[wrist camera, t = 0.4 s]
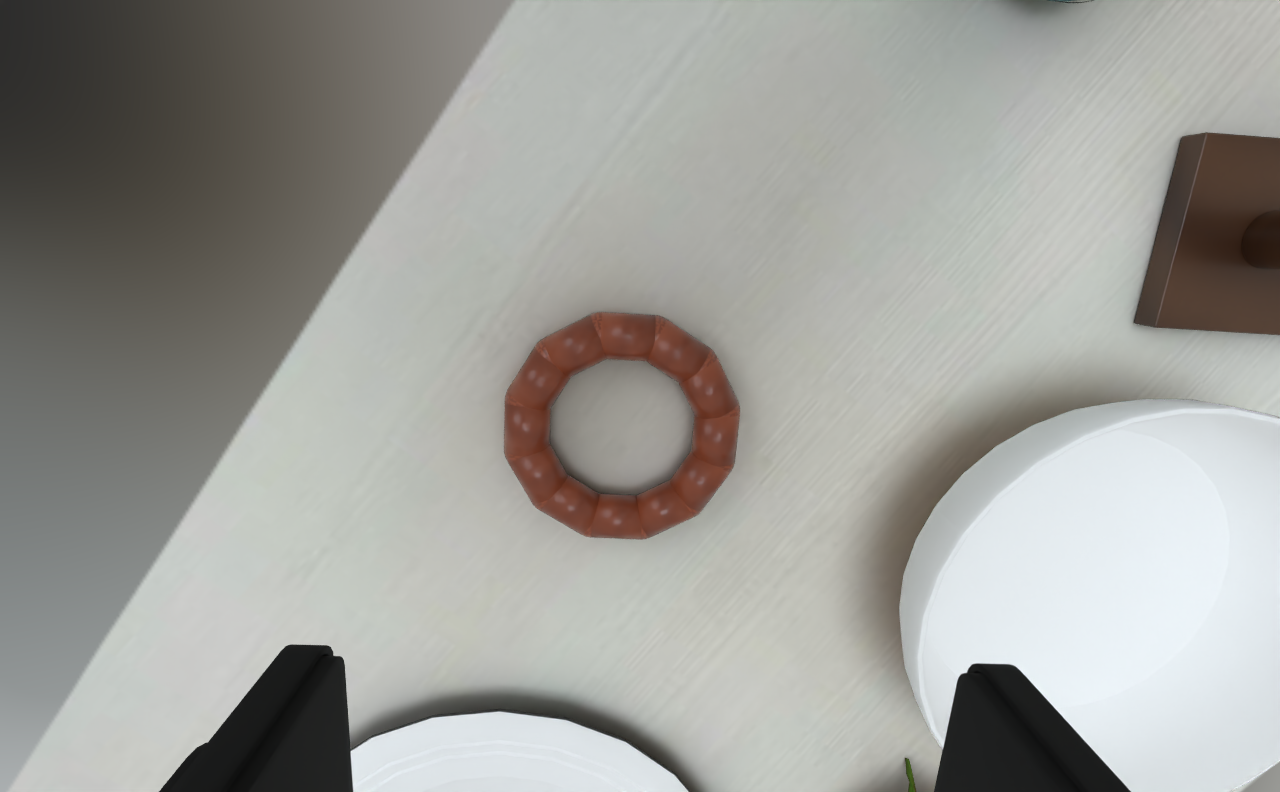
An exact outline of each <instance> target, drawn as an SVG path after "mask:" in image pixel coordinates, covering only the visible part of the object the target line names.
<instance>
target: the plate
mask: <svg viewBox="0 0 1280 792" xmlns="http://www.w3.org/2000/svg"><path fill="white" fill-rule="evenodd" d="M350 752H351V766H352V781H353V792H690V791H689V789H688V788H687V787H686V786H685V785H684V783H683V782H682V781H681V780H680V779H679V778H678V776H677V775H676V774H675V773H674V772H673V771H671V770H670V769H668V768H667V767H665V766H664V765H662V764H661V763H659V762H658V761H657V760H655V759H654V758H652V757H651V756H649V755H648V754H646V753H645V752H643V751H642V750H640V749H639V748H637V747H636V746H634V745H633V744H631V743H630V742H629V741H627V740H626V739H623V738H620V737H617V736H615V735H612V734H609V733H607V732H604V731H601V730H598V729H596V728H593V727H590V726H588V725H585V724H582V723H579V722H577V721H574V720H571V719H569V718H565V717H558V716H550V715H542V714H534V713H526V712H519V711H511V710H503V709H496V710H485V711H475V712H464V713H453V714H442V715H433V716H430V717H427V718H424V719H421V720H418V721H415V722H412V723H409V724H406V725H403V726H400V727H397V728H394V729H391V730H388V731H385V732H382V733H379V734H376V735H373V736H371V737H370V738H368V739H367V740H365V741H363V742H362V743H360V744H359V745H357V746H356V747H354V748H353V749H351V750H350Z"/></svg>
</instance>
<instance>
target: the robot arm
mask: <svg viewBox="0 0 1280 792" xmlns="http://www.w3.org/2000/svg"><path fill="white" fill-rule="evenodd" d="M159 792H353V781H352V766H351V752H350V737H349V722H348V708H347V693H346V678H345V665H344V660H343V658H342V657H340V656H333V651H332V649H331V647H329V646H325V645H288V646H286V647H285V648H284V649H283V650H282V651H281V652H280V653H279V654H278V656H277V657H276V658H275V659H274V661H273V662H272V663H271V664H270V666H269V667H268V668H267V669H266V671H265V672H264V673H263V674H262V676H261V677H260V678H259V679H258V681H257V682H256V683H255V684H254V686H253V687H252V688H251V689H250V691H249V692H248V693H247V694H246V696H245V697H244V698H243V699H242V701H241V702H240V703H239V704H238V706H237V707H236V708H235V709H234V711H233V712H232V713H231V714H230V716H229V717H228V718H227V719H226V721H225V722H224V723H223V724H222V726H221V727H220V728H219V729H218V731H217V732H216V733H215V734H214V736H213V737H212V738H211V739H210V741H209V742H208V743H205V744H203V745H201V746H199V747H197V748H196V749H195V750H194V751H193V752H192V753H191V754H190V755H189V756H188V757H187V758H186V759H185V761H184V762H183V763H182V764H181V766H180V767H179V768H178V769H177V770H176V772H175V773H174V774H173V775H172V777H171V778H170V779H169V780H168V781H167V783H166V784H165V785H164V786H163V788H162V789H161V790H160V791H159ZM934 792H1131V791H1130V790H1129V789H1128V788H1127V787H1126V786H1125V784H1124V783H1123V782H1122V781H1121V780H1120V779H1119V778H1118V777H1117V776H1116V775H1115V773H1114V772H1113V771H1112V770H1111V769H1110V768H1109V767H1108V766H1107V765H1106V764H1105V763H1104V761H1103V760H1102V759H1101V758H1100V757H1099V756H1098V755H1097V754H1096V753H1095V752H1094V751H1093V749H1092V748H1091V747H1090V746H1089V745H1088V744H1087V743H1086V742H1085V741H1084V740H1083V738H1082V737H1081V736H1080V735H1079V734H1078V733H1077V732H1076V731H1075V730H1074V729H1073V728H1072V726H1071V725H1070V724H1069V723H1068V722H1067V721H1066V720H1065V719H1064V718H1063V717H1062V715H1061V714H1060V713H1059V712H1058V711H1057V710H1056V709H1055V708H1054V707H1053V706H1052V705H1051V703H1050V702H1049V701H1048V700H1047V699H1046V698H1045V697H1044V696H1043V695H1042V694H1041V693H1040V691H1039V690H1038V689H1037V688H1036V687H1035V686H1034V685H1033V684H1032V683H1031V682H1030V680H1029V679H1028V678H1027V677H1026V676H1025V675H1024V674H1023V673H1022V672H1021V671H1020V670H1019V669H1018V668H1017V667H1016V666H1014V665H1010V664H984V663H975V664H972V665H971V666H970V667H969V668H968V671H967V673H963V674H961V675H960V676H959V678H958V681H957V685H956V690H955V694H954V699H953V704H952V709H951V713H950V718H949V723H948V728H947V733H946V737H945V742H944V747H943V752H942V756H941V761H940V766H939V771H938V775H937V780H936V785H935V790H934Z"/></svg>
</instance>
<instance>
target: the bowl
mask: <svg viewBox="0 0 1280 792" xmlns="http://www.w3.org/2000/svg"><path fill="white" fill-rule="evenodd" d="M899 615H900V626H901V638H902V648H903V657H904V665H905V670H906V673H907V676H908V679H909V682H910V685H911V688H912V691H913V694H914V697H915V700H916V702H917V704H918V706H919V709H920V711H921V713H922V715H923V717H924V720H925V722H926V724H927V726H928V728H929V730H930V732H931V733H932V735H933V737H934V738H935V740H936V741H937V743H938V744H939V746H940V748H941V749H942V751H943V747H944V742H945V737H946V733H947V728H948V723H949V718H950V713H951V709H952V704H953V699H954V694H955V690H956V685H957V681H958V678H959V676H960V675H961V674H963V673H967V671H968V668H969V667H970V666H971V665H972V664H975V663H984V664H1010V665H1014V666H1016V667H1017V668H1018V669H1019V670H1020V671H1021V672H1022V673H1023V674H1024V675H1025V676H1026V677H1027V678H1028V679H1029V680H1030V682H1031V683H1032V684H1033V685H1034V686H1035V687H1036V688H1037V689H1038V690H1039V691H1040V693H1041V694H1042V695H1043V696H1044V697H1045V698H1046V699H1047V700H1048V701H1049V702H1050V703H1051V705H1052V706H1053V707H1054V708H1055V709H1056V710H1057V711H1058V712H1059V713H1060V714H1061V715H1062V717H1063V718H1064V719H1065V720H1066V721H1067V722H1068V723H1069V724H1070V725H1071V726H1072V728H1073V729H1074V730H1075V731H1076V732H1077V733H1078V734H1079V735H1080V736H1081V737H1082V738H1083V740H1084V741H1085V742H1086V743H1087V744H1088V745H1089V746H1090V747H1091V748H1092V749H1093V751H1094V752H1095V753H1096V754H1097V755H1098V756H1099V757H1100V758H1101V759H1102V760H1103V761H1104V763H1105V764H1106V765H1107V766H1108V767H1109V768H1110V769H1111V770H1112V771H1113V772H1114V773H1115V775H1116V776H1117V777H1118V778H1119V779H1120V780H1121V781H1122V782H1123V783H1124V784H1125V786H1126V787H1127V788H1128V789H1129V790H1130V791H1131V792H1231V791H1233V790H1235V789H1237V788H1239V787H1241V786H1243V785H1245V784H1247V783H1249V782H1250V781H1252V780H1253V779H1255V778H1256V777H1258V776H1259V775H1261V774H1262V773H1264V772H1265V771H1267V770H1268V769H1269V768H1271V767H1272V766H1274V765H1275V764H1277V763H1278V762H1280V417H1278V416H1274V415H1270V414H1265V413H1261V412H1256V411H1252V410H1247V409H1242V408H1238V407H1233V406H1228V405H1222V404H1216V403H1209V402H1203V401H1197V400H1184V399H1143V400H1133V401H1123V402H1114V403H1109V404H1103V405H1098V406H1092V407H1087V408H1081V409H1076V410H1072V411H1069V412H1066V413H1064V414H1061V415H1058V416H1056V417H1053V418H1050V419H1048V420H1045V421H1042V422H1040V423H1037V424H1034V425H1032V426H1030V427H1029V428H1027V429H1025V430H1023V431H1022V432H1020V433H1018V434H1016V435H1015V436H1013V437H1011V438H1010V439H1008V440H1006V441H1004V442H1003V443H1001V444H999V445H998V446H996V447H994V448H993V449H992V450H991V451H990V452H988V453H987V454H986V455H985V456H984V457H982V458H981V459H980V460H979V461H978V462H976V463H975V464H974V465H973V466H972V467H970V468H969V469H968V470H967V471H966V472H964V473H963V474H962V475H961V476H960V478H959V479H958V480H957V481H956V482H955V483H954V485H953V486H952V487H951V488H950V489H949V491H948V492H947V493H946V494H945V495H944V496H943V498H942V499H941V500H940V501H939V502H938V503H937V505H936V506H935V508H934V509H933V511H932V513H931V514H930V516H929V518H928V520H927V521H926V523H925V525H924V526H923V528H922V530H921V532H920V533H919V535H918V537H917V538H916V541H915V544H914V546H913V549H912V552H911V555H910V558H909V561H908V563H907V566H906V569H905V572H904V576H903V583H902V590H901V598H900V605H899Z"/></svg>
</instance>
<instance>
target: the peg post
mask: <svg viewBox="0 0 1280 792" xmlns="http://www.w3.org/2000/svg"><path fill="white" fill-rule="evenodd" d="M1134 323H1135V324H1139V325H1144V326H1150V327H1157V328H1173V329H1189V330H1206V331H1222V332H1238V333H1255V334H1271V335H1280V138H1272V137H1259V136H1246V135H1233V134H1219V133H1201V134H1195V135H1189V136H1183V137H1182V139H1181V143H1180V147H1179V151H1178V155H1177V159H1176V163H1175V166H1174V170H1173V174H1172V178H1171V182H1170V186H1169V190H1168V194H1167V197H1166V201H1165V205H1164V209H1163V213H1162V217H1161V221H1160V225H1159V228H1158V232H1157V236H1156V240H1155V244H1154V248H1153V252H1152V256H1151V259H1150V263H1149V267H1148V271H1147V275H1146V279H1145V283H1144V287H1143V290H1142V294H1141V298H1140V302H1139V306H1138V310H1137V314H1136V318H1135V321H1134Z"/></svg>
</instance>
